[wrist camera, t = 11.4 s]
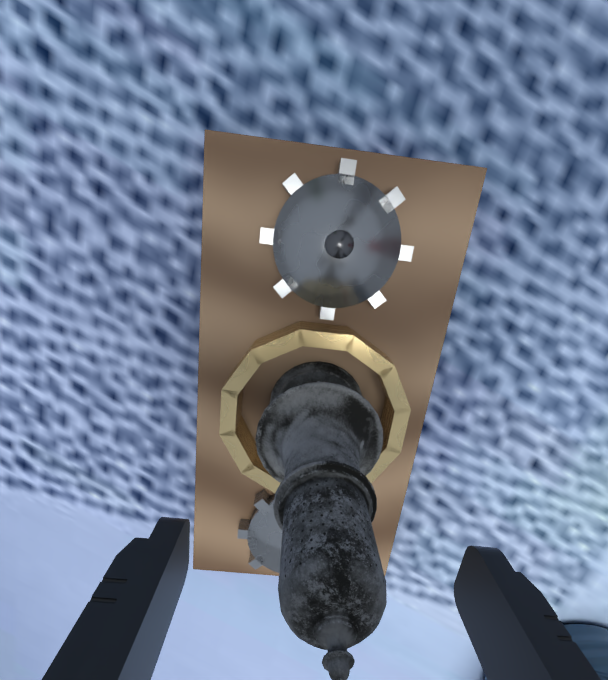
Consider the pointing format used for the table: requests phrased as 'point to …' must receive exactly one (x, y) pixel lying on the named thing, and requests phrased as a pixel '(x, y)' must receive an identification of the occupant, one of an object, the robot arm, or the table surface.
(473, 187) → the gear board
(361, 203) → the drive gears
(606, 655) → the canister
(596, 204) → the table surface
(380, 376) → the brass collar
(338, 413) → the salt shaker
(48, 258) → the table surface
